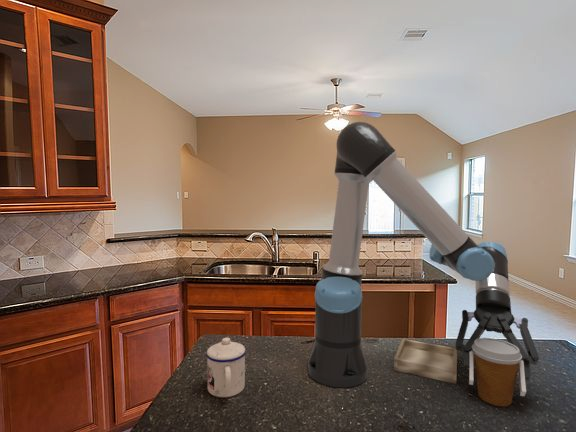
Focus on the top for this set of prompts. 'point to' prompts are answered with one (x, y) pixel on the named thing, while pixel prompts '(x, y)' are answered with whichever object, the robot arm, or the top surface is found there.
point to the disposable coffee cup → (496, 370)
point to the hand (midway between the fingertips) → (496, 387)
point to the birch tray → (427, 360)
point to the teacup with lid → (226, 368)
